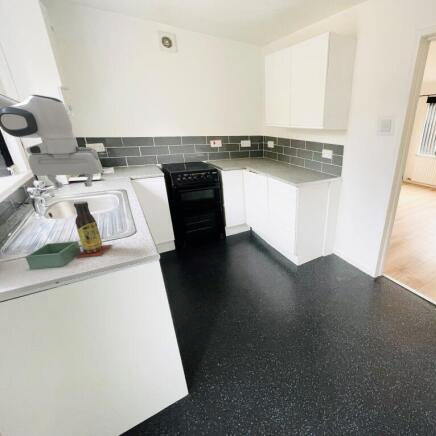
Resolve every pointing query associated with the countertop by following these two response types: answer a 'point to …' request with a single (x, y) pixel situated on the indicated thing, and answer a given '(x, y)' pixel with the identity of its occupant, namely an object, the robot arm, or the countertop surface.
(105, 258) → the countertop surface
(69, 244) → the green open tray
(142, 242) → the countertop surface
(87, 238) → the sauce bottle
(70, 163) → the robot arm
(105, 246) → the drying mat
